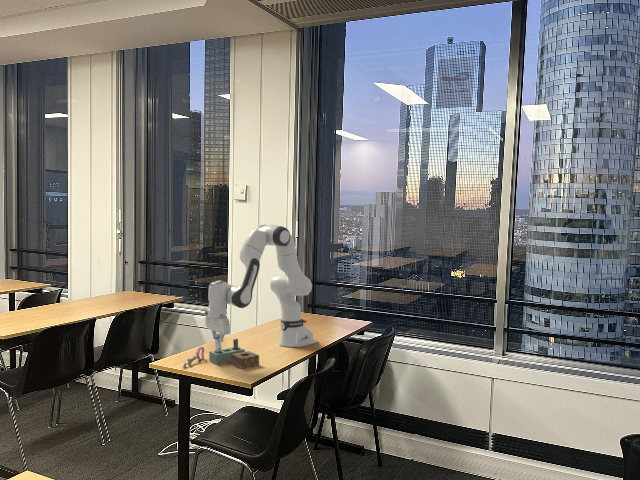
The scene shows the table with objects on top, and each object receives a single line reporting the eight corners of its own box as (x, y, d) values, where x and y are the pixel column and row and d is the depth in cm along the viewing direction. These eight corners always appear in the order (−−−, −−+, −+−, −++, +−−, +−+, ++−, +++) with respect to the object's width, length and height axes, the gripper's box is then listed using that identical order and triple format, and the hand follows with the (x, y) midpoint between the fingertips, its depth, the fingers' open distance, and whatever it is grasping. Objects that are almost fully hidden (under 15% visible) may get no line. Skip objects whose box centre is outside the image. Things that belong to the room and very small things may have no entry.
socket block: (248, 360, 277) (248, 351, 276) (259, 365, 269) (259, 355, 268) (231, 364, 270) (231, 354, 270) (241, 369, 263) (241, 358, 262)
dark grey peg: (236, 357, 283) (236, 338, 282) (239, 358, 281) (238, 339, 280) (232, 358, 281) (232, 339, 281) (235, 359, 279) (234, 340, 279)
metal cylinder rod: (219, 360, 277) (219, 333, 276) (222, 361, 275) (222, 334, 274) (214, 361, 275) (213, 334, 274) (217, 363, 273) (216, 335, 272)
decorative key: (181, 374, 264) (203, 357, 282) (183, 375, 263) (205, 357, 282) (180, 361, 262) (201, 345, 281) (182, 362, 262) (203, 345, 280)
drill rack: (237, 355, 286) (237, 346, 286) (244, 359, 280) (244, 349, 279) (209, 361, 276) (209, 351, 276) (216, 364, 270) (216, 354, 270)
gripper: (233, 315, 267) (233, 343, 268) (214, 309, 283) (214, 335, 284) (221, 317, 263) (222, 345, 264) (202, 310, 279) (203, 337, 280)
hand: (218, 340), depth 274 cm, fingers open, 5 cm apart
